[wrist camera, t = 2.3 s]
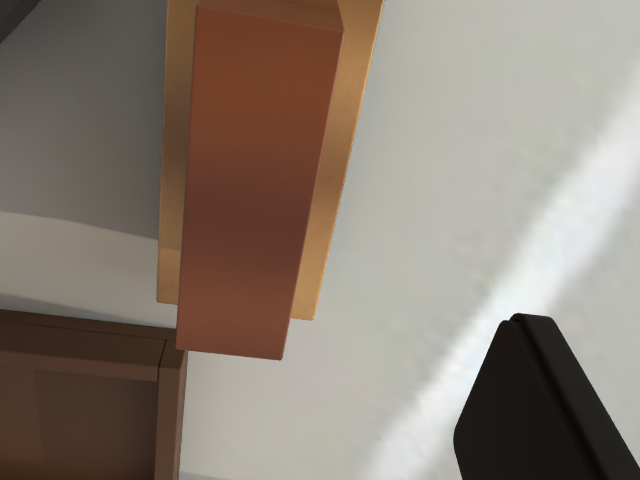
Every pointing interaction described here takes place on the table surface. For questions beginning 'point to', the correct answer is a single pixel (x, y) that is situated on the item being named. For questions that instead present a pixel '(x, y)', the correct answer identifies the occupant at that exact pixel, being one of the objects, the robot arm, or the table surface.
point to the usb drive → (13, 14)
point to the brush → (255, 161)
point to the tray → (89, 399)
